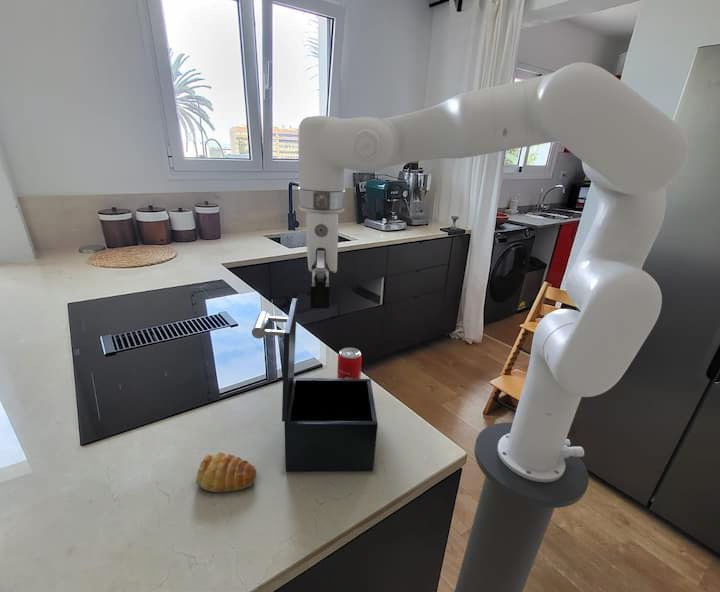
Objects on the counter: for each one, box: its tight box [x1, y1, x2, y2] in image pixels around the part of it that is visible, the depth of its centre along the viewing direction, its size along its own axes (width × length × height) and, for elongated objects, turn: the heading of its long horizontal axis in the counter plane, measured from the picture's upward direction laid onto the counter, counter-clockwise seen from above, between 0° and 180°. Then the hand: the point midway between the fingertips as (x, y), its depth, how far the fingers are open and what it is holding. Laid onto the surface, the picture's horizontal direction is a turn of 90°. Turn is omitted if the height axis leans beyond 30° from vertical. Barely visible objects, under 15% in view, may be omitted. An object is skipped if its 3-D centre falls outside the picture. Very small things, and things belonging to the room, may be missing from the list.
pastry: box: [195, 452, 257, 493], centre depth 66 cm, size 9×7×4 cm
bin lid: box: [251, 297, 298, 423], centre depth 67 cm, size 16×14×6 cm
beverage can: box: [336, 347, 363, 379], centre depth 87 cm, size 5×5×12 cm
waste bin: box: [283, 377, 379, 473], centre depth 74 cm, size 16×14×11 cm
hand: (320, 297), depth 72 cm, fingers open, 9 cm apart
